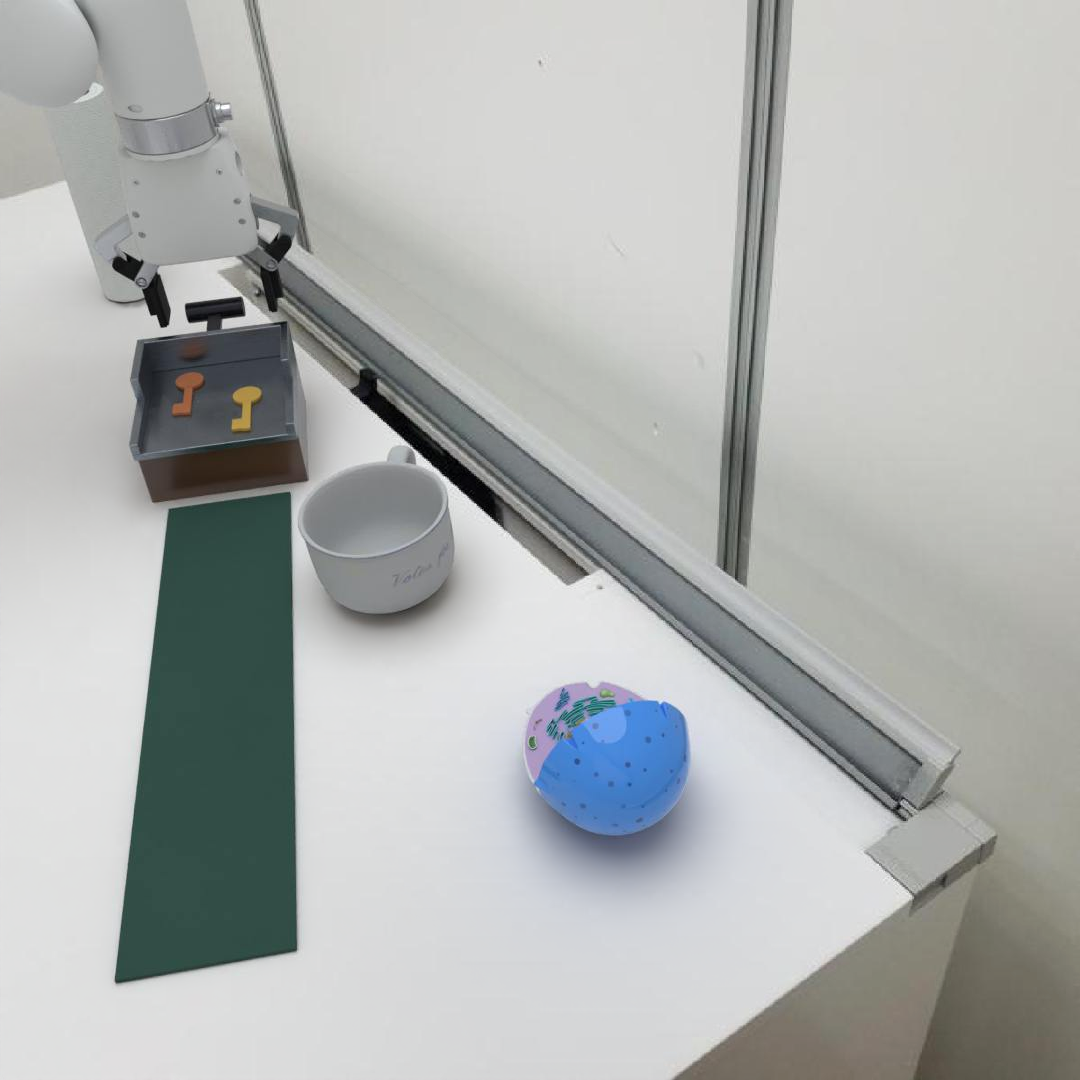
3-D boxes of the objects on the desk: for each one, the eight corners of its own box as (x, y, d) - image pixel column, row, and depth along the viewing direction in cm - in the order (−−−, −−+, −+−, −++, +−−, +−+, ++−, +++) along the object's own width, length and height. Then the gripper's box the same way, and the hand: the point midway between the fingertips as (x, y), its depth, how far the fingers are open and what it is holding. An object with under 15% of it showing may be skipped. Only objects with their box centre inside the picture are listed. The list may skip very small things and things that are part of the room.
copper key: (177, 377, 100) (176, 374, 100) (204, 373, 100) (204, 370, 100) (172, 417, 95) (171, 414, 95) (201, 413, 96) (200, 410, 95)
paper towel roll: (139, 307, 121) (76, 104, 107) (92, 299, 123) (24, 99, 109) (178, 275, 126) (123, 77, 112) (133, 268, 128) (72, 72, 114)
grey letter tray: (152, 346, 105) (139, 305, 103) (295, 328, 107) (286, 287, 104) (134, 461, 92) (119, 418, 89) (297, 439, 93) (287, 395, 90)
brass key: (233, 391, 98) (233, 388, 98) (262, 387, 98) (261, 384, 98) (231, 432, 93) (230, 429, 93) (261, 428, 94) (260, 425, 93)
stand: (163, 421, 105) (148, 375, 102) (305, 402, 106) (295, 356, 103) (152, 502, 96) (135, 454, 93) (308, 480, 97) (297, 432, 94)
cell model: (633, 699, 77) (634, 597, 71) (719, 838, 69) (729, 736, 63) (494, 746, 75) (483, 645, 69) (566, 897, 66) (560, 797, 60)
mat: (169, 511, 95) (168, 508, 95) (290, 494, 96) (290, 491, 96) (115, 983, 64) (114, 980, 64) (297, 950, 65) (295, 947, 64)
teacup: (422, 649, 82) (409, 566, 77) (289, 617, 85) (267, 535, 80) (495, 528, 92) (488, 447, 86) (373, 502, 95) (359, 423, 89)
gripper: (276, 95, 96) (315, 279, 107) (64, 121, 94) (126, 305, 106) (276, 129, 90) (317, 320, 101) (51, 157, 89) (118, 348, 100)
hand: (220, 312), depth 103 cm, fingers open, 9 cm apart
